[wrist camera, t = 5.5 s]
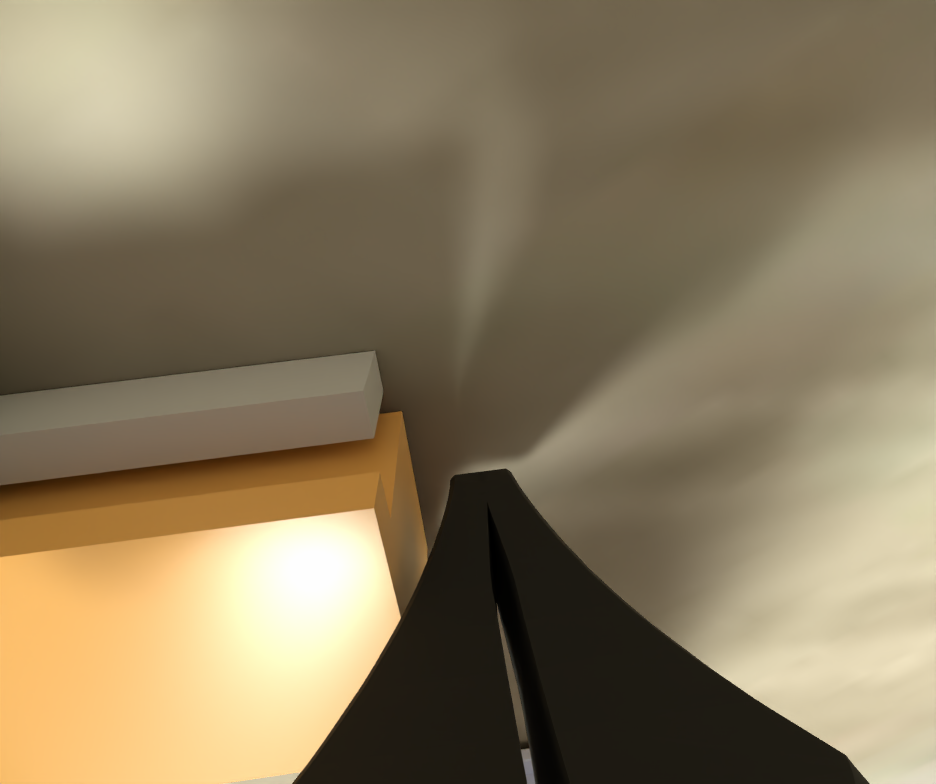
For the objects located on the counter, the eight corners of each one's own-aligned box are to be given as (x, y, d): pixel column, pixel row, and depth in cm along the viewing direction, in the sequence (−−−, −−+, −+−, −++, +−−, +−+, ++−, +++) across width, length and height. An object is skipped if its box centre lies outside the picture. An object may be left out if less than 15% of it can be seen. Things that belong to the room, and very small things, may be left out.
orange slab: (395, 374, 10) (374, 508, 6) (431, 571, 12) (433, 752, 8) (18, 420, 9) (-267, 591, 6) (138, 611, 12) (3, 816, 8)
